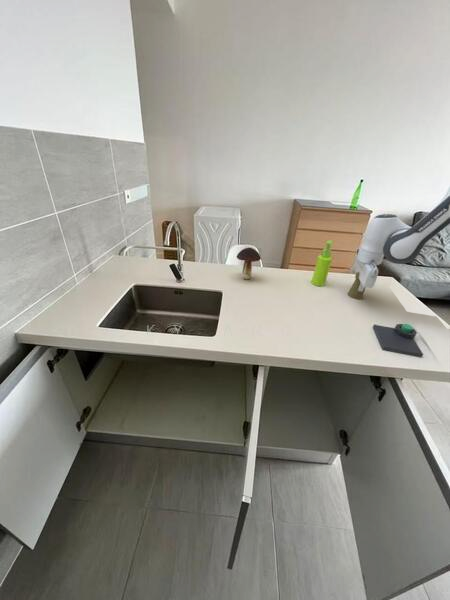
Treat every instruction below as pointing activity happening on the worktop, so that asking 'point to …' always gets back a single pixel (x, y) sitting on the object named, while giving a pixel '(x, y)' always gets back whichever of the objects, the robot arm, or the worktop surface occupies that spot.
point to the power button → (407, 328)
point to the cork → (356, 289)
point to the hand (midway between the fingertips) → (358, 287)
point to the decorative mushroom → (248, 260)
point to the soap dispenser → (322, 266)
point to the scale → (397, 340)
